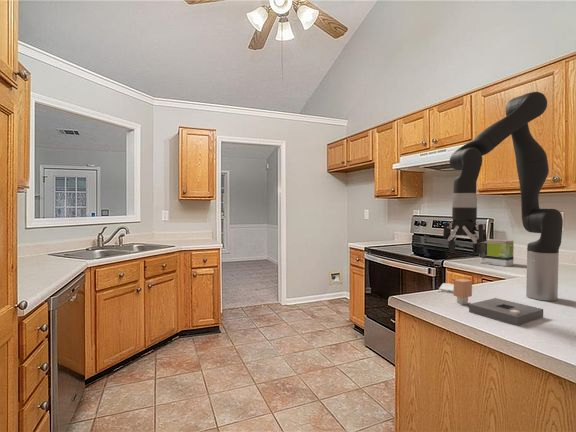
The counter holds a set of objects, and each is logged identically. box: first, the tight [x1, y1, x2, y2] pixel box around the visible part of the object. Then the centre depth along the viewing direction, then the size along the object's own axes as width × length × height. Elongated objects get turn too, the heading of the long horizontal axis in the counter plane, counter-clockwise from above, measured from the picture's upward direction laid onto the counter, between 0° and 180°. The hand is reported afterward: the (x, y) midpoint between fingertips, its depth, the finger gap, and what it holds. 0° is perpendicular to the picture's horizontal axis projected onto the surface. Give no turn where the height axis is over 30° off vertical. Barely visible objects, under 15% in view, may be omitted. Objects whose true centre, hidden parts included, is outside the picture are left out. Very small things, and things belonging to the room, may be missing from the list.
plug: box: [453, 278, 473, 305], centre depth 114 cm, size 5×4×8 cm
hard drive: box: [438, 282, 454, 294], centre depth 133 cm, size 2×8×12 cm
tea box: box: [478, 238, 515, 267], centre depth 195 cm, size 15×10×15 cm, turn 34°
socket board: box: [468, 297, 544, 327], centre depth 101 cm, size 15×14×3 cm
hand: (463, 252), depth 113 cm, fingers open, 8 cm apart
